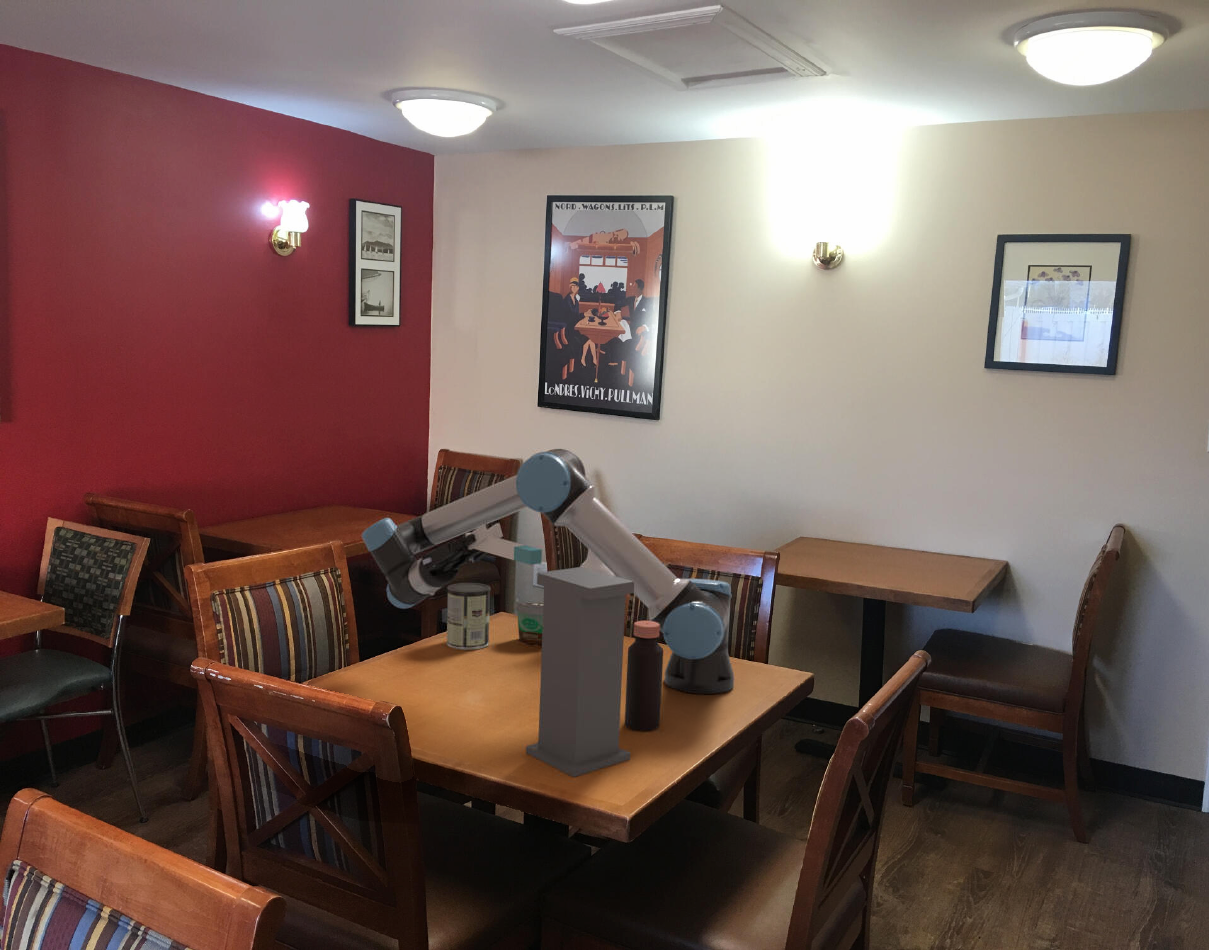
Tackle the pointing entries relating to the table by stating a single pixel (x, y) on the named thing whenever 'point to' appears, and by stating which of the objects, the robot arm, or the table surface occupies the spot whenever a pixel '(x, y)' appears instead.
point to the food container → (530, 622)
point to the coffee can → (468, 616)
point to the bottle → (644, 678)
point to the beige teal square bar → (510, 550)
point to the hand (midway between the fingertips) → (492, 530)
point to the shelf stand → (581, 670)
